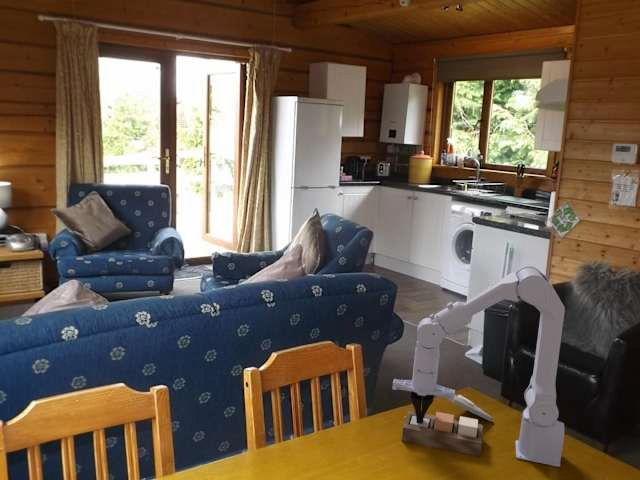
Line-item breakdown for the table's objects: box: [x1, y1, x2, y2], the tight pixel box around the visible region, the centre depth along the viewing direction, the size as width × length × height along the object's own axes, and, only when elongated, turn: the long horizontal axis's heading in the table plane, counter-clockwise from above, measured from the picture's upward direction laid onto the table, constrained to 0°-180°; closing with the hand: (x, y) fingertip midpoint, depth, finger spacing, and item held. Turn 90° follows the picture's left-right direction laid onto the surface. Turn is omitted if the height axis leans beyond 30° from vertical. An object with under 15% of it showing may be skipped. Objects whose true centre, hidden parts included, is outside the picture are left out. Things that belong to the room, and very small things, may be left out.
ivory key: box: [458, 416, 479, 438], centre depth 142 cm, size 4×4×3 cm
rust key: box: [434, 411, 455, 433], centre depth 143 cm, size 4×4×3 cm
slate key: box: [410, 416, 430, 428], centre depth 145 cm, size 4×4×3 cm
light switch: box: [446, 393, 494, 423], centre depth 155 cm, size 8×6×14 cm
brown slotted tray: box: [401, 410, 483, 458], centre depth 144 cm, size 18×9×4 cm, turn 74°
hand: (419, 421), depth 145 cm, fingers closed, pressing on slate key
